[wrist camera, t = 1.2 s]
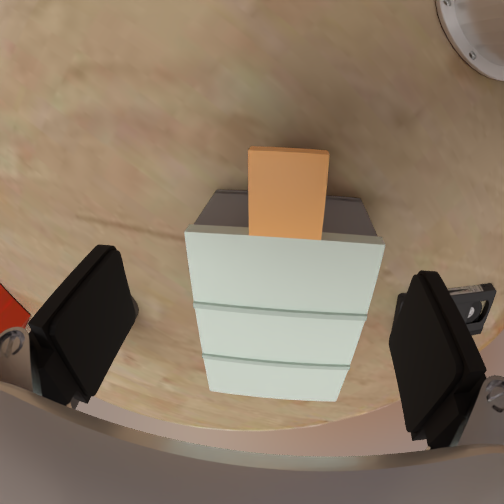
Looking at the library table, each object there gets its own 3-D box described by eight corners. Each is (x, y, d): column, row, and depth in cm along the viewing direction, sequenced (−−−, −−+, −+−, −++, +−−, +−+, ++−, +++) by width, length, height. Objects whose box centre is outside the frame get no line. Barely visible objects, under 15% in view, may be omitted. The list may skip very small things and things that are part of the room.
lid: (395, 158, 18) (402, 164, 17) (335, 392, 32) (335, 403, 31) (182, 146, 20) (174, 151, 19) (212, 382, 34) (209, 392, 33)
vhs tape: (491, 280, 31) (497, 289, 30) (475, 324, 35) (480, 333, 34) (397, 290, 34) (401, 301, 32) (389, 335, 38) (391, 346, 36)
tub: (360, 198, 28) (378, 238, 22) (331, 341, 39) (334, 391, 32) (216, 189, 30) (192, 226, 23) (226, 333, 41) (213, 381, 34)
